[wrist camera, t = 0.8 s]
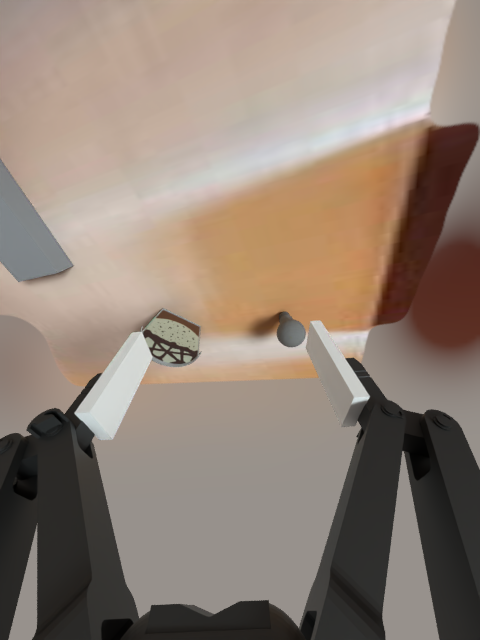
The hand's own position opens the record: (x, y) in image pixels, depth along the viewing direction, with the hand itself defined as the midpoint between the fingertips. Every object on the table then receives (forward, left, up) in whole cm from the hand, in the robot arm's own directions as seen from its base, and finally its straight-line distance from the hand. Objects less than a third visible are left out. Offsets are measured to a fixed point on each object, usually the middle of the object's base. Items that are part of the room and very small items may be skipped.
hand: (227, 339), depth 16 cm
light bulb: (+16, +9, -26) cm, 32 cm away
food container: (+14, -16, -26) cm, 34 cm away
